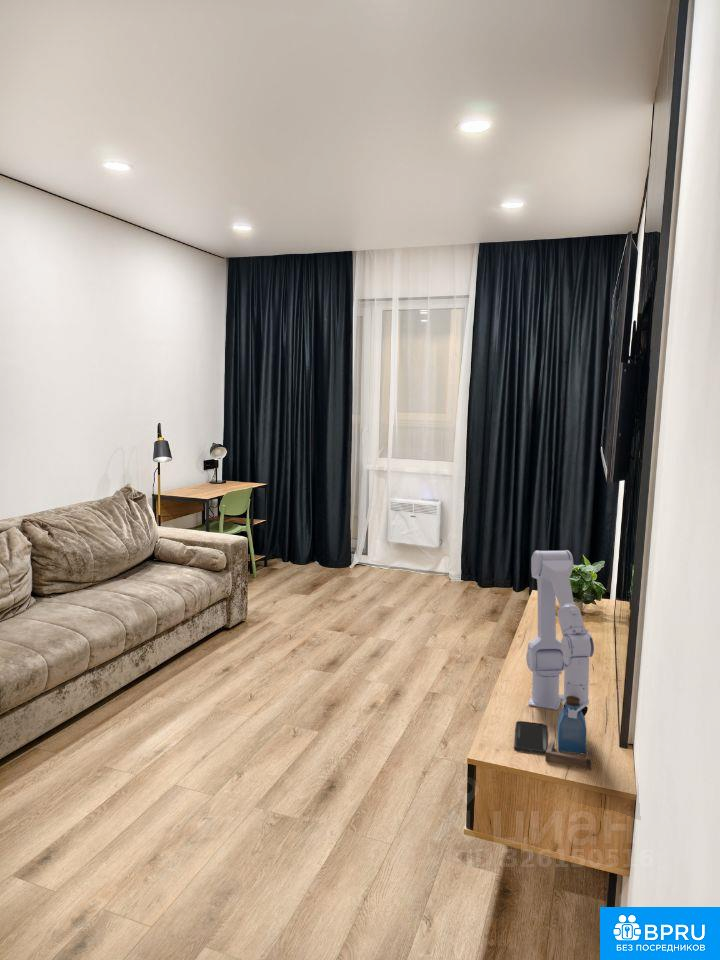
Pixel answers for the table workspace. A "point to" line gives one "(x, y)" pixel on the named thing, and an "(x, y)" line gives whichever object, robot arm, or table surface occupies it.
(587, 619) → the table surface
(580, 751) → the perfume bottle
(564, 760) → the bracket
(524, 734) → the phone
